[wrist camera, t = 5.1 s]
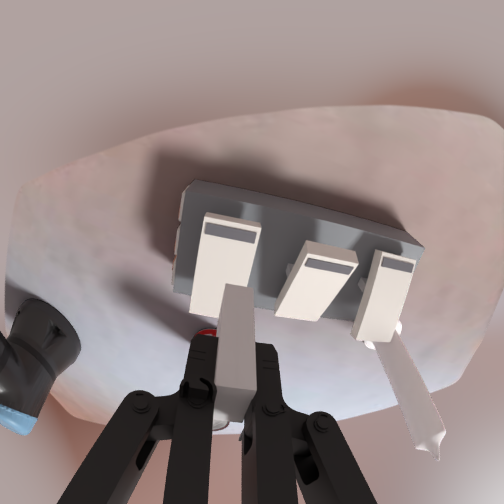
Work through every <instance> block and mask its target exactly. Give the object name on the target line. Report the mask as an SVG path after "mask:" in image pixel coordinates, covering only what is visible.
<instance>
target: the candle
mask: <svg viewBox="0 0 504 504" xmlns="http://www.w3.org/2000/svg"><path fill="white" fill-rule="evenodd" d="M401 330H402V325H401V322H400V321H399V320H398V323H397V325H396V328H395V331H394V334H393V336H392V339H391V341H390V342H377V341H364V343H365V345H366V346H367V347H368V348H370V349H376V351H377V354H378V356H379V358H380V360H381V363H382V365H383V367H384V370H385V372H386V374H387V377H388V379H389V381H390V384H391V386H392V388H393V391H394V393H395V396H396V398H397V401H398V403H399V406H400V408H401V411H402V413H403V416H404V419H405V421H406V424H407V427H408V429H409V432H410V435H411V437H412V440H413V443H414V446H415V448H416V449H419V450H426V451H429V452H430V453H431V454H432V455H433V456H434V458H435V459H436V461H438V460H440V452H439V447H440V443H441V441H442V439H443V437H444V436H445V434H446V429H445V427H444V424H443V422H442V420H441V417H440V415H439V413H438V411H437V409H436V406H435V404H434V402H433V400H432V398H431V396H430V394H429V392H428V389H427V387H426V385H425V383H424V381H423V379H422V377H421V375H420V373H419V371H418V369H417V367H416V366H415V364H414V362H413V360H412V358H411V356H410V354H409V352H408V350H407V349H406V347H405V345H404V343H403V341H402V339H401V338H400V336H399V335H400V333H401Z"/></svg>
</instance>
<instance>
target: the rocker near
mask: <svg viewBox="0 0 504 504" xmlns="http://www.w3.org/2000/svg"><path fill="white" fill-rule="evenodd" d="M260 232H261V224H260V223H258V222H254V221H249V220H244V219H239V218H234V217H229V216H224V215H219V214H214V213H209V212H206V214H205V216H204V221H203V227H202V233H201V238H200V244H199V250H198V256H197V263H196V269H195V275H194V282H193V289H192V296H191V303H190V310H189V313H193V314H198V315H203V316H209V317H214V318H219V313H220V308H221V303H222V299H223V294H224V289H225V284H226V283H227V284H233V285H239V286H244V287H247V284H248V280H249V276H250V272H251V268H252V264H253V260H254V256H255V252H256V248H257V244H258V240H259V236H260Z"/></svg>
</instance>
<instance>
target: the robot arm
mask: <svg viewBox="0 0 504 504" xmlns="http://www.w3.org/2000/svg"><path fill="white" fill-rule="evenodd" d="M80 351H81V344H80V340H79V338H78V335H77V333H76V332H75V330H74V328H73V327H72V326H71V324H70V323H69V322H68V321H67V320H66V319H65V317H64V316H62V315H61V314H60V313H59V312H58V311H57V310H56V309H54V308H53V307H51V306H50V305H48V304H47V303H45V302H42V301H40V300H36V299H29V300H26V301H25V302H24V303H23V304H22V305H21V306H20V308H19V309H18V311H17V313H16V317H15V319H14V322H13V325H12V328H11V332H10V335H9V336H8V338H7V339H5V337H4V336H3V334H2V333H1V331H0V424H1V425H2V426H4V427H6V428H7V429H10V430H11V431H13V432H15V433H17V434H20V435H27V434H29V433H30V431H31V430H32V428H33V426H34V424H35V423H36V421H37V420H38V419H37V418H38V416H39V413H40V411H41V409H42V407H43V404H44V402H45V400H46V398H47V396H48V394H49V392H50V390H51V387H52V385H53V383H54V381H55V379H56V378H57V376H58V375H60V374H61V373H62V372H63V371H64V370H66V369H67V368H68V367H69V366H70V365H71V364H73V363H74V362H75V361H76V359H77V357H78V355H79V353H80ZM213 419H214V420H222V421H230V422H240V423H242V422H243V420H244V429H243V431H242V433H241V435H240V437H239V441H241V440H242V504H298V496H297V485H296V480H297V482H298V485H299V487H300V490H301V492H302V495H303V498H304V500H305V502H306V504H377V502H376V500H375V498H374V496H373V494H372V492H371V490H370V488H369V486H368V484H367V482H366V480H365V478H364V476H363V474H362V472H361V470H360V468H359V466H358V464H357V462H356V460H355V458H354V456H353V454H352V452H351V450H350V448H349V446H348V444H347V442H346V440H345V438H344V436H343V434H342V432H341V430H340V428H339V426H338V424H337V422H336V420H335V419H334V418H333V416H331V415H330V414H328V413H326V412H322V411H319V412H314V413H312V414H310V415H307V414H304V413H300V412H297V411H295V410H293V409H291V408H290V407H288V405H287V404H286V403H285V402H284V400H283V397H282V389H281V380H280V371H279V363H278V353H277V351H276V350H275V348H274V346H273V345H272V344H265V343H257V342H255V323H254V294H253V288H250V287H244V286H239V285H233V284H227V283H226V284H225V289H224V294H223V299H222V303H221V308H220V313H219V319H218V325H217V334H216V337H214V336H208V335H203V334H196V336H195V337H194V338H193V339H192V340H191V344H190V349H189V354H188V359H187V364H186V369H185V374H184V379H183V380H182V382H181V384H180V389H179V391H177V392H176V393H174V394H172V395H169V396H159V397H155V396H154V395H152V394H151V393H149V392H146V391H143V390H137V391H133V392H131V393H129V394H128V395H127V396H126V397H125V398H124V400H123V401H122V403H121V404H120V406H119V407H118V409H117V410H116V412H115V413H114V415H113V416H112V418H111V419H110V421H109V422H108V424H107V425H106V427H105V428H104V430H103V431H102V433H101V435H100V436H99V438H98V439H97V441H96V442H95V444H94V445H93V447H92V448H91V450H90V451H89V453H88V455H87V456H86V458H85V459H84V461H83V462H82V464H81V466H80V467H79V469H78V470H77V472H76V473H75V475H74V477H73V478H72V480H71V482H70V483H69V485H68V486H67V488H66V490H65V491H64V493H63V495H62V496H61V498H60V499H59V501H58V503H57V504H127V502H128V500H129V498H130V496H131V494H132V492H133V491H134V489H135V487H136V485H137V483H138V481H139V479H140V477H141V475H142V473H143V471H144V469H145V467H146V465H147V463H148V461H149V460H150V458H151V456H152V454H153V452H154V450H155V448H156V446H157V444H158V442H159V440H168V439H172V442H171V448H170V456H169V462H168V469H167V476H166V484H165V491H164V499H163V504H208V489H209V473H210V455H211V442H212V428H213Z"/></svg>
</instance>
